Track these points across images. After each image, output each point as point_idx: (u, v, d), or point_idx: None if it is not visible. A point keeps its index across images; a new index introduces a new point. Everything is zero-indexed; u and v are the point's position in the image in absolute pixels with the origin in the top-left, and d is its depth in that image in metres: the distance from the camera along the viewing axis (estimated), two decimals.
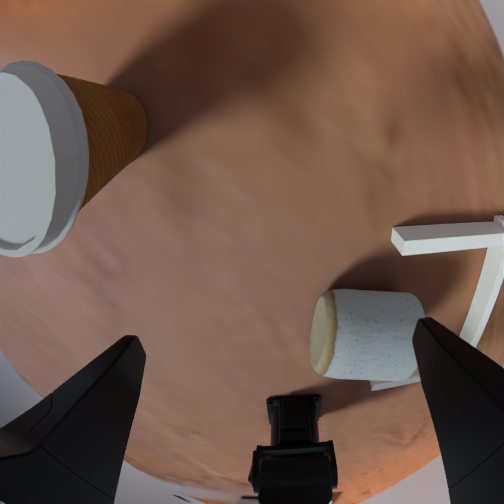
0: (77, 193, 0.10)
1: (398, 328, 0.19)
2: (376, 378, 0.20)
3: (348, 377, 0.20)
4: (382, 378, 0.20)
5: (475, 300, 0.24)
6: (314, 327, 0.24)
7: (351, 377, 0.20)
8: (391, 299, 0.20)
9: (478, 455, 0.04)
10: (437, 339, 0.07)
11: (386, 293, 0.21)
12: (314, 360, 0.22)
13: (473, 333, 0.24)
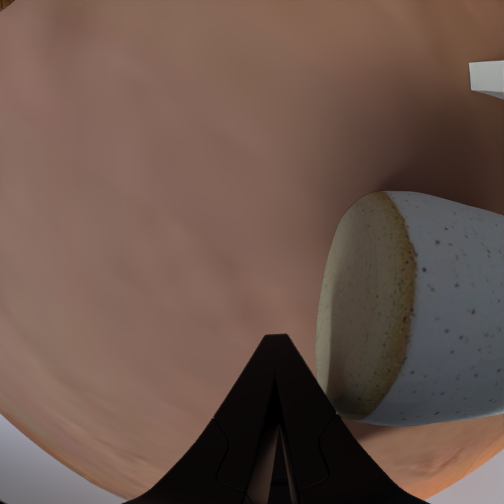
0: None
1: None
2: (477, 416, 0.06)
3: (420, 423, 0.06)
4: (488, 414, 0.06)
5: None
6: (327, 297, 0.10)
7: (427, 422, 0.06)
8: None
9: None
10: (274, 360, 0.07)
11: None
12: (329, 379, 0.08)
13: None
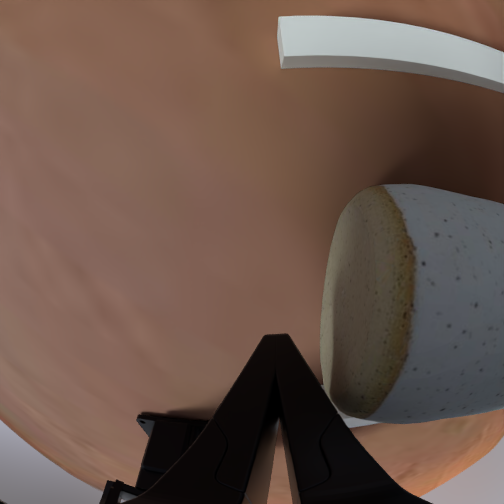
0: None
1: None
2: (485, 410, 0.06)
3: (426, 420, 0.06)
4: (496, 408, 0.06)
5: None
6: (330, 295, 0.10)
7: (434, 419, 0.06)
8: None
9: None
10: (274, 360, 0.07)
11: None
12: (333, 378, 0.08)
13: None
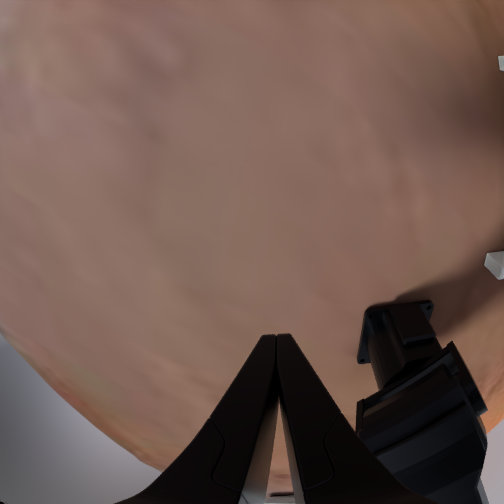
0: None
1: None
2: None
3: None
4: None
5: None
6: None
7: None
8: None
9: None
10: (277, 360, 0.07)
11: None
12: None
13: None
